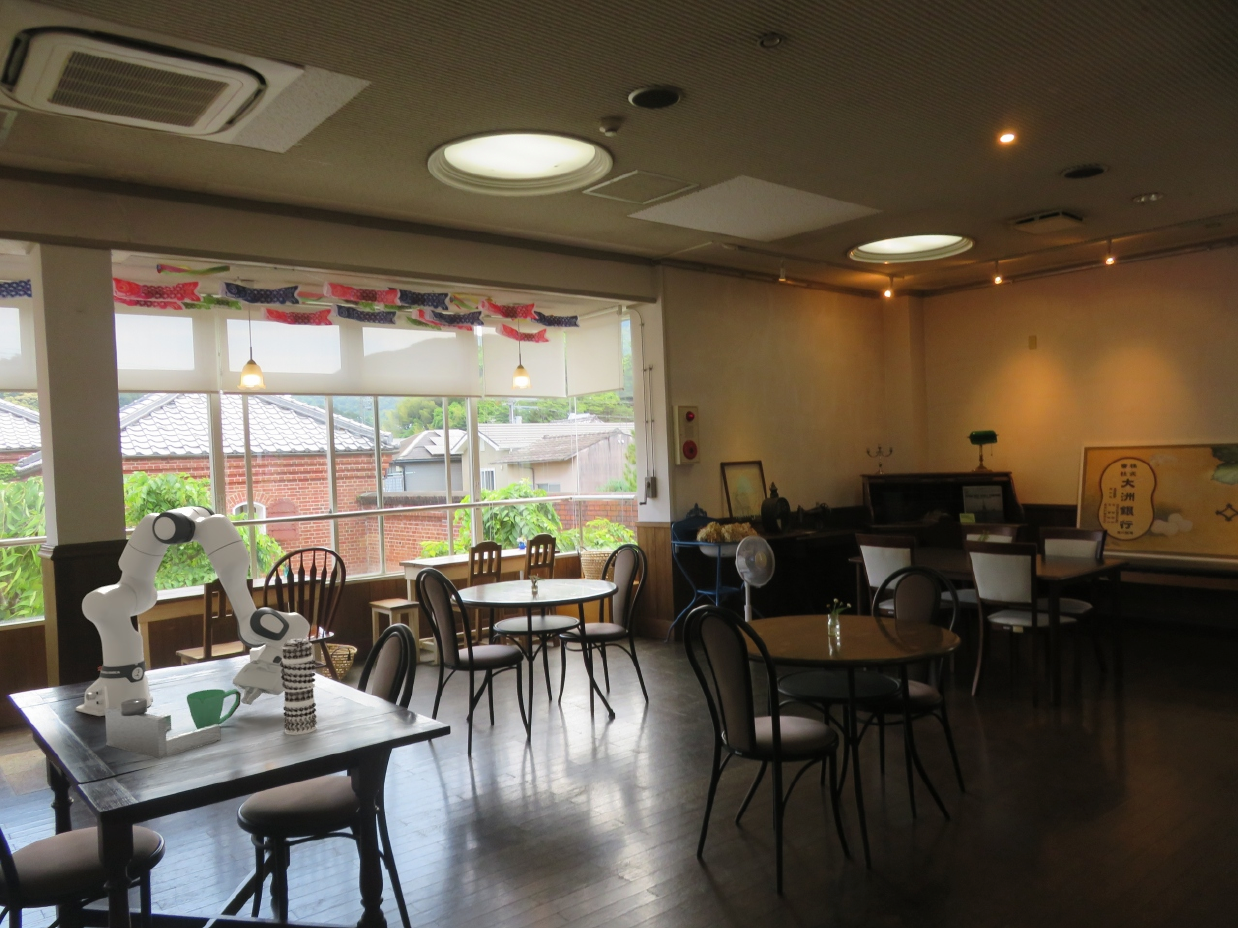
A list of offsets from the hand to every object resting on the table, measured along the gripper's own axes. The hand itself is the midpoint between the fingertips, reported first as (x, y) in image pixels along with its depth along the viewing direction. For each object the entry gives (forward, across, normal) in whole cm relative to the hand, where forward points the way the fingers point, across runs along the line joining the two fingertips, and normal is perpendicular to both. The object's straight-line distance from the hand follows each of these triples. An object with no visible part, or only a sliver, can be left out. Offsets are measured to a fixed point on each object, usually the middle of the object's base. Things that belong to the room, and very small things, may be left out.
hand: (245, 703), depth 265 cm
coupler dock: (+22, 0, -15) cm, 27 cm away
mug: (+10, 0, -4) cm, 11 cm away
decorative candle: (+4, +26, +2) cm, 26 cm away
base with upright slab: (-18, -35, +24) cm, 46 cm away
